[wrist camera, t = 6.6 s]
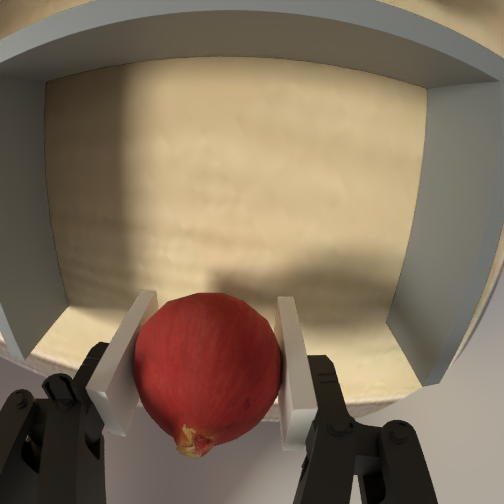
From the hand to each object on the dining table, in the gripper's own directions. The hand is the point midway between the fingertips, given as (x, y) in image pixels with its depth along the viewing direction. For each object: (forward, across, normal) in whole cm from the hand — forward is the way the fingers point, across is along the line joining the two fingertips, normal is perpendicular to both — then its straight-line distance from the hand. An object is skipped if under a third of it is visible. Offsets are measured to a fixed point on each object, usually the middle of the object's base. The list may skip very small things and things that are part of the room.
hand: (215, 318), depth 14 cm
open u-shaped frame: (+3, 0, +6) cm, 6 cm away
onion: (0, 0, 0) cm, 0 cm away
